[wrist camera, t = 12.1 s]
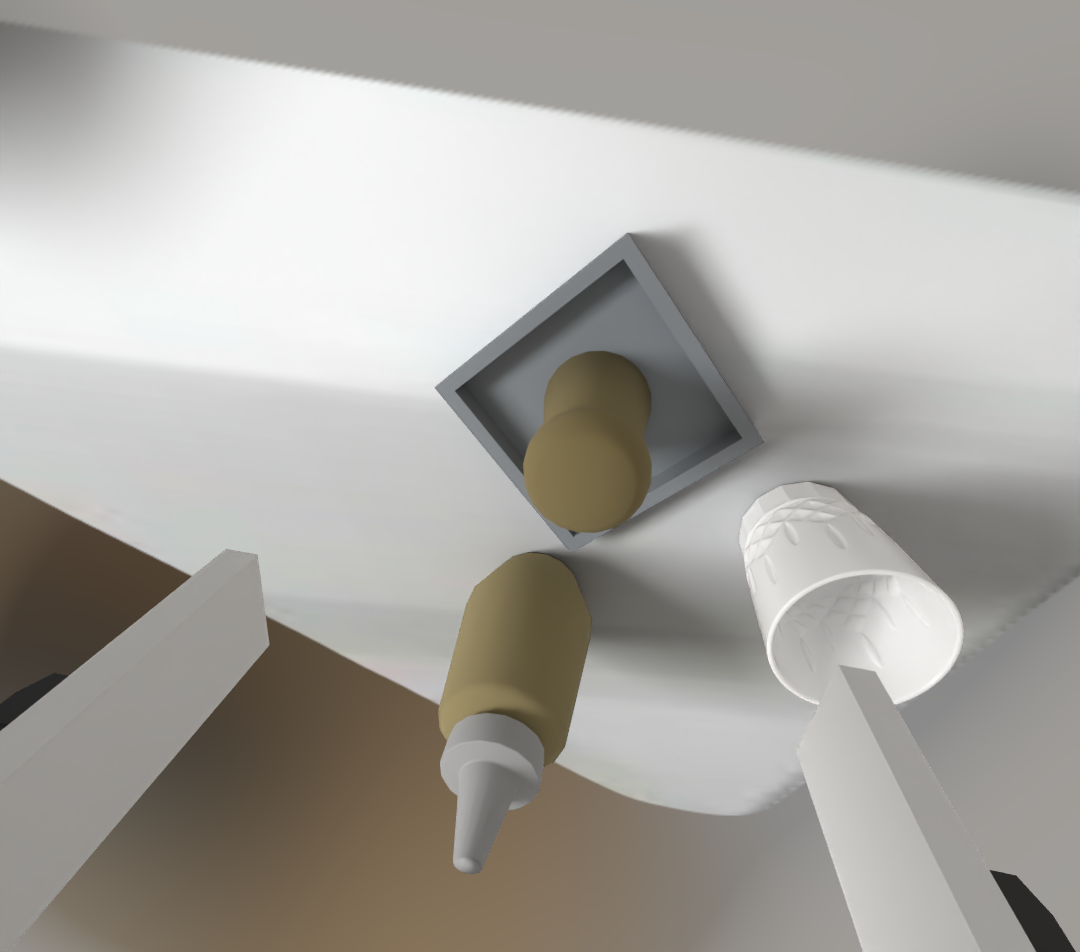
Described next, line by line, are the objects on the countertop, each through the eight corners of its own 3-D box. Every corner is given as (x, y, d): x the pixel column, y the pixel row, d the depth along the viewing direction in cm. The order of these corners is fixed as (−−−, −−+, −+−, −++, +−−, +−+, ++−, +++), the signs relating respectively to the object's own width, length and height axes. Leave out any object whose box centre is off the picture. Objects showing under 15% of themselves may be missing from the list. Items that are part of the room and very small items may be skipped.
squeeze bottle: (616, 608, 37) (610, 906, 20) (520, 647, 39) (447, 938, 23) (555, 517, 34) (493, 770, 18) (457, 565, 37) (327, 823, 21)
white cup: (867, 461, 30) (971, 559, 21) (867, 577, 33) (958, 706, 24) (722, 482, 32) (760, 581, 23) (734, 590, 35) (773, 715, 26)
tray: (448, 376, 32) (434, 387, 29) (627, 232, 27) (627, 232, 25) (574, 532, 35) (570, 552, 32) (753, 426, 30) (764, 442, 28)
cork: (533, 361, 30) (488, 426, 20) (643, 340, 28) (654, 399, 18) (555, 460, 32) (524, 564, 22) (658, 445, 31) (674, 548, 21)
